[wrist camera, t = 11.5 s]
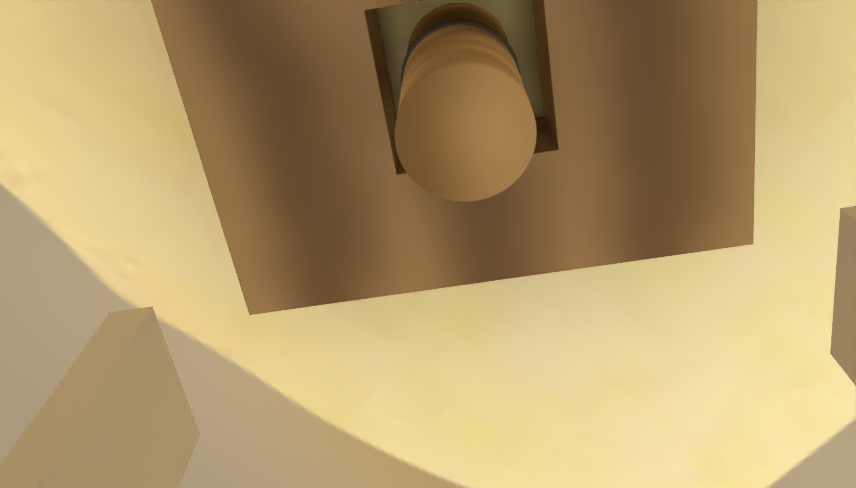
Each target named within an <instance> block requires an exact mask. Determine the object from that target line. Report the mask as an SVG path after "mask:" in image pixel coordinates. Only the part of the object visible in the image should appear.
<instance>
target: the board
mask: <svg viewBox="0 0 856 488" xmlns="http://www.w3.org/2000/svg"><path fill="white" fill-rule="evenodd" d="M151 1H152V5H153V8H154V11H155V14H156V17H157V20H158V24H159V27H160V30H161V33H162V36H163V40H164V43H165V46H166V49H167V52H168V56H169V59H170V62H171V65H172V68H173V72H174V75H175V78H176V81H177V84H178V88H179V91H180V94H181V97H182V100H183V104H184V107H185V110H186V113H187V116H188V120H189V123H190V126H191V129H192V132H193V136H194V139H195V142H196V145H197V148H198V152H199V155H200V158H201V161H202V164H203V168H204V171H205V174H206V177H207V180H208V184H209V187H210V190H211V193H212V196H213V200H214V203H215V206H216V209H217V212H218V216H219V219H220V222H221V225H222V228H223V232H224V235H225V238H226V241H227V244H228V248H229V251H230V254H231V257H232V260H233V264H234V267H235V270H236V273H237V276H238V280H239V283H240V286H241V289H242V292H243V296H244V299H245V302H246V305H247V308H248V311H249V315H252V314H259V313H266V312H273V311H281V310H288V309H295V308H302V307H309V306H316V305H323V304H330V303H337V302H345V301H352V300H359V299H366V298H373V297H380V296H387V295H394V294H401V293H409V292H416V291H423V290H430V289H437V288H444V287H451V286H458V285H465V284H473V283H480V282H487V281H494V280H501V279H508V278H515V277H522V276H529V275H537V274H544V273H551V272H558V271H565V270H572V269H579V268H586V267H593V266H601V265H608V264H615V263H622V262H629V261H636V260H643V259H650V258H657V257H664V256H672V255H679V254H686V253H693V252H700V251H707V250H714V249H721V248H728V247H736V246H743V245H750V244H753V225H754V163H755V101H756V39H757V0H533V6H534V15H535V25H536V34H537V44H538V53H539V63H540V72H541V82H542V91H543V101H544V110H545V117H544V118H538V119H535V121H536V131H537V136H536V145H535V149H534V153H533V155H532V158H531V160H530V162H529V164H528V166H527V168H526V169H525V171H524V172H523V173H522V175H521V176H520V177H519V178H518V179H517V180H516V181H515V182H514V183H513V184H512V185H511V186H509V187H508V188H507V189H505V190H503V191H502V192H500V193H498V194H496V195H494V196H492V197H489V198H486V199H482V200H477V201H469V202H460V201H451V200H447V199H443V198H440V197H437V196H435V195H433V194H431V193H429V192H427V191H426V190H424V189H423V188H421V187H420V186H419V185H417V184H416V183H415V182H414V181H413V180H412V179H411V178H410V176H409V175H408V174H407V172H406V171H405V169H404V168H403V166H402V164H401V162H400V159H399V157H398V154H397V150H396V146H395V124H396V118H397V115H396V110H395V105H394V100H393V94H392V89H391V84H390V79H389V73H388V68H387V63H386V58H385V53H384V47H383V42H382V37H381V32H380V26H379V21H378V16H377V11H376V8H381V7H386V6H392V5H398V4H404V3H410V2H415V1H421V0H151Z"/></svg>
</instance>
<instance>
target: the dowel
mask: <svg viewBox="0 0 856 488" xmlns="http://www.w3.org/2000/svg"><path fill="white" fill-rule="evenodd" d="M536 136H537V131H536V121H535V116H534V113H533V110H532V107H531V104H530V102H529V99H528V96H527V93H526V91H525V88H524V85H523V82H522V80H521V77H520V70H519V65H518V62H517V59H516V56H515V54H514V52H513V50H512V48H511V46H510V45H509V43H508V41H507V38H506V36H505V33H504V31H503V29H502V27H501V26H500V24H499V23H498V22H497V20H496V19H495V18H494V17H493V16H492V15H490V14H489V13H488V12H486V11H485V10H483V9H481V8H479V7H477V6H474V5H471V4H465V3H453V4H447V5H443V6H441V7H438V8H436V9H434V10H432V11H431V12H429V13H428V14H427V15H425V16H424V17H423V18H422V19H421V20H420V22H419V23H418V24H417V25H416V27H415V29H414V30H413V33H412V35H411V37H410V41H409V45H408V51H407V55H406V57H405V60H404V63H403V67H402V73H401V94H400V100H399V106H398V112H397V118H396V124H395V146H396V150H397V154H398V157H399V159H400V162H401V164H402V166H403V168H404V169H405V171H406V172H407V174H408V175H409V176H410V178H411V179H412V180H413V181H414V182H415V183H416V184H417V185H419V186H420V187H421V188H423V189H424V190H426V191H427V192H429V193H431V194H433V195H435V196H437V197H440V198H443V199H447V200H451V201H460V202H469V201H477V200H482V199H486V198H489V197H492V196H494V195H496V194H498V193H500V192H502V191H503V190H505V189H507V188H508V187H509V186H511V185H512V184H513V183H514V182H515V181H516V180H517V179H518V178H519V177H520V176H521V175H522V173H523V172H524V171H525V169H526V168H527V166H528V164H529V162H530V160H531V158H532V155H533V153H534V149H535V145H536Z"/></svg>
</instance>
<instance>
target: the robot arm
mask: <svg viewBox="0 0 856 488" xmlns="http://www.w3.org/2000/svg"><path fill="white" fill-rule="evenodd" d="M830 354H831V355H832V356H833V357H834V359H835V360H836V361H837V363H838V364H839V365H840V366H841V368H842V369H843V370H844V371H845V373H846V374H847V375H848V376H849V378H850V379H851V380H852V382H853V383H854V384H855V385H856V206H853V207H846V208H840V222H839V236H838V251H837V265H836V280H835V294H834V309H833V323H832V337H831V352H830ZM199 436H200V433H199V430H198V427H197V425H196V422H195V419H194V416H193V414H192V411H191V408H190V406H189V403H188V401H187V398H186V395H185V392H184V390H183V387H182V384H181V382H180V379H179V377H178V374H177V371H176V368H175V366H174V363H173V360H172V358H171V355H170V352H169V350H168V347H167V344H166V342H165V339H164V337H163V334H162V331H161V329H160V326H159V323H158V320H157V318H156V315H155V312H154V310H153V307H147V308H140V309H133V310H126V311H119V312H113V313H109V314H108V315H107V317H106V318H105V319H104V321H103V322H102V323H101V325H100V326H99V328H98V329H97V331H96V332H95V333H94V335H93V336H92V337H91V339H90V340H89V342H88V343H87V344H86V346H85V347H84V349H83V350H82V351H81V352H80V354H79V355H78V357H77V358H76V359H75V361H74V362H73V364H72V365H71V366H70V368H69V369H68V371H67V372H66V373H65V375H64V376H63V377H62V379H61V380H60V381H59V383H58V384H57V386H56V387H55V388H54V390H53V391H52V393H51V394H50V396H49V397H48V398H47V399H46V401H45V402H44V404H43V405H42V406H41V408H40V409H39V411H38V412H37V413H36V415H35V416H34V417H33V419H32V420H31V422H30V423H29V424H28V426H27V427H26V428H25V430H24V431H23V433H22V434H21V435H20V437H19V438H18V440H17V441H16V442H15V444H14V445H13V446H12V448H11V449H10V451H9V452H8V453H7V455H6V456H5V458H4V459H3V460H2V462H1V463H0V488H178V487H179V484H180V482H181V479H182V477H183V474H184V472H185V469H186V467H187V465H188V462H189V460H190V457H191V455H192V453H193V450H194V448H195V445H196V443H197V441H198V438H199Z"/></svg>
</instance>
